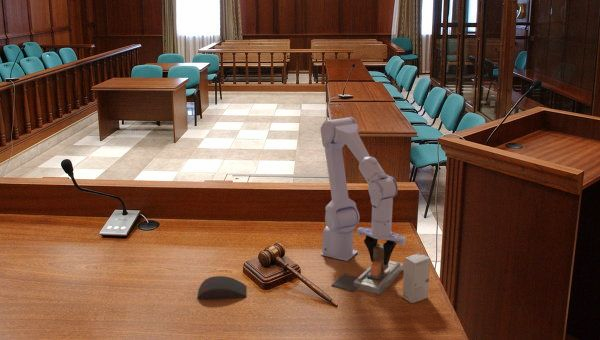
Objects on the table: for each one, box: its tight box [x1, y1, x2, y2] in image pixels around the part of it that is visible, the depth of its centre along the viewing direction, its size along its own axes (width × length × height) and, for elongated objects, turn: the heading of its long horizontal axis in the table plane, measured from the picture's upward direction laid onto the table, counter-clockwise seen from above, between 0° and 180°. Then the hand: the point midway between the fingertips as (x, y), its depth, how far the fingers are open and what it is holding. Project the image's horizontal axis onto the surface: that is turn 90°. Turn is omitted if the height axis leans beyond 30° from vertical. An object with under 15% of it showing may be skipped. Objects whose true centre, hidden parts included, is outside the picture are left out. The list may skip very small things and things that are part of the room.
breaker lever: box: [367, 261, 385, 280], centre depth 177 cm, size 4×4×4 cm
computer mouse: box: [196, 275, 248, 300], centre depth 172 cm, size 8×14×4 cm, turn 94°
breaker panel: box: [354, 259, 404, 296], centre depth 180 cm, size 8×18×3 cm, turn 149°
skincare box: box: [402, 252, 431, 304], centre depth 168 cm, size 6×4×12 cm
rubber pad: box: [331, 273, 359, 293], centre depth 178 cm, size 7×8×1 cm
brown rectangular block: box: [372, 242, 388, 272], centre depth 179 cm, size 4×4×7 cm
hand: (379, 261), depth 179 cm, fingers closed on brown rectangular block, 3 cm apart
